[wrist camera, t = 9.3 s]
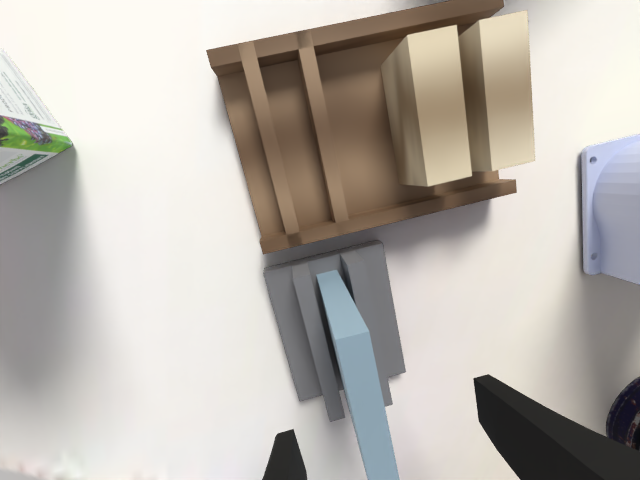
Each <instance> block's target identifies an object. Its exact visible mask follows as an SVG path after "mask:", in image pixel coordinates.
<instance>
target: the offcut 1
mask: <svg viewBox="0 0 640 480" xmlns="http://www.w3.org/2000/svg"><path fill="white" fill-rule="evenodd" d="M381 72H382V78H383V84H384V91H385V97H386V103H387V110H388V116H389V122H390V129H391V135H392V141H393V147H394V154H395V160H396V166H397V173H398V179H399V184H403V185H415V186H427V187H428V186H432V185H437V184H441V183H445V182H449V181H453V180H458V179H462V178H466V177H470V176H472V170H471V160H470V151H469V141H468V131H467V121H466V111H465V101H464V92H463V82H462V72H461V62H460V52H459V43H458V33H457V25H453V26H448V27H443V28H438V29H434V30H429V31H424V32H419V33H414V34H410V35H407V36H406V37H405V38H404V39H403V40H402V41H401V43H400V44H399V45H398V46H397V47H396V48H395V50H394V51H393V52H392V53H391V54H390V55H389V57H388V58H387V59H386V60H385V61H384V62H383V64H382V65H381Z"/></svg>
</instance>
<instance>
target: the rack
mask: <svg viewBox="0 0 640 480" xmlns="http://www.w3.org/2000/svg"><path fill="white" fill-rule="evenodd" d="M503 7H504V1H503V0H450V1H445V2H441V3H436V4H431V5H426V6H421V7H416V8H411V9H406V10H401V11H396V12H391V13H386V14H382V15H377V16H372V17H367V18H362V19H357V20H352V21H347V22H342V23H337V24H332V25H327V26H323V27H318V28H313V29H308V30H303V31H298V32H293V33H288V34H283V35H278V36H273V37H268V38H264V39H259V40H254V41H249V42H244V43H239V44H234V45H229V46H224V47H219V48H214V49H209V50H206V51H207V55H208V58H209V62H210V66H211V68H212V69H213V71H214V72H215V74H216V75H217V77H218V80H219V84H220V87H221V91H222V95H223V98H224V102H225V105H226V109H227V113H228V116H229V120H230V124H231V127H232V131H233V134H234V138H235V142H236V145H237V149H238V152H239V156H240V160H241V163H242V167H243V171H244V174H245V178H246V181H247V185H248V189H249V192H250V196H251V199H252V203H253V207H254V210H255V214H256V218H257V221H258V225H259V228H260V232H261V236H262V237H261V239H260V245H261V248H262V252H263V254H266V253H271V252H275V251H279V250H283V249H287V248H291V247H295V246H299V245H303V244H307V243H312V242H316V241H320V240H324V239H328V238H332V237H336V236H340V235H344V234H348V233H353V232H357V231H361V230H365V229H369V228H373V227H377V226H381V225H385V224H389V223H393V222H398V221H402V220H406V219H410V218H414V217H418V216H422V215H426V214H430V213H434V212H439V211H443V210H447V209H451V208H455V207H459V206H463V205H467V204H471V203H475V202H480V201H484V200H488V199H492V198H496V197H500V196H504V195H508V194H512V193H516V192H517V191H516V180H512V179H499V174H498V170H495V171H476V172H472V176H470V177H466V178H462V179H458V180H453V181H449V182H445V183H441V184H437V185H432V186H428V187H427V186H415V185H403V184H399V179H398V173H397V166H396V160H395V154H394V147H393V141H392V135H391V129H390V122H389V116H388V110H387V103H386V97H385V91H384V84H383V78H382V72H381V65H382V64H383V62H384V61H385V60H386V59H387V58H388V57H389V55H390V54H391V53H392V52H393V51H394V50H395V48H396V47H397V46H398V45H399V44H400V43H401V41H402V40H403V39H404V38H405V37H406V36H407V35H410V34H414V33H419V32H424V31H429V30H434V29H438V28H443V27H448V26H453V25H457V33H458V37H459V36H460V35H461V34H462V33H464V32H465V31H466V30H467V29H469V28H470V27H471V26H472V25H474V24H475V23H476V22H477V21H479V20H482V19H486V18H490V17H491V16H493V15H494V14H495V13H496V12H498V11H499V10H500V9H502V8H503Z"/></svg>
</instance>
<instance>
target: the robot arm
mask: <svg viewBox="0 0 640 480" xmlns="http://www.w3.org/2000/svg"><path fill="white" fill-rule="evenodd" d="M590 159H591V162H590ZM582 210H583V268H584V272H585V273H587V274H590V275H595V274H599V273H603V274H607V275H610V276H613V277H616V278H619V279H623V280H626V281H629V282H632V283H635V284H639V285H640V134H636V135H632V136H628V137H624V138H619V139H615V140H611V141H607V142H603V143H599V144H594V145H590V146H587V147H585V148H584V149H583V151H582ZM591 255H592V256H591ZM474 386H475V394H476V402H477V410H478V418H479V422H480V424H481V425H482V427H483V429H484V430H485V432H486V433H487V435H488V437H489V438H490V440H491V441H492V443H493V444H494V446H495V447H496V449H497V450H498V452H499V453H500V454H501V455H502V457H503V458H504V459H505V461H506V462H507V463H508V464H509V466H510V467H511V468H512V470H513V471H514V472H515V473H516V475H517V476H518V477H519V478H520V480H640V451H638V450H635V449H633V448H630V447H628V446H626V445H624V444H621V443H619V442H617V441H614V440H612V439H610V438H607V437H605V436H603V435H601V434H599V433H596V432H594V431H592V430H590V429H588V428H586V427H584V426H582V425H580V424H578V423H576V422H574V421H572V420H570V419H568V418H566V417H564V416H562V415H560V414H558V413H556V412H554V411H552V410H550V409H549V408H547V407H545V406H543V405H541V404H539V403H538V402H536V401H534V400H532V399H530V398H529V397H527V396H525V395H523V394H522V393H520V392H518V391H516V390H515V389H513V388H511V387H509V386H508V385H506V384H504V383H503V382H501V381H499V380H497V379H496V378H494V377H492V376H490V375H489V374H488V375H484V376H481V377H477V378H474ZM262 480H307V474H306V469H305V466H304V462H303V459H302V456H301V452H300V449H299V446H298V443H297V439H296V436H295V433H294V429H292V430H289V431H285V432H282V433H278V434H277V435H276V437H275V441H274V445H273V448H272V452H271V455H270V458H269V461H268V464H267V467H266V471H265V474H264V476H263V479H262Z"/></svg>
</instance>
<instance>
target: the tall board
mask: <svg viewBox="0 0 640 480" xmlns="http://www.w3.org/2000/svg"><path fill="white" fill-rule="evenodd" d="M316 276H317V280H318V285H319V289H320V293H321V297H322V301H323V306H324V310H325V314H326V318H327V322H328V326H329V331H330V335H331V339H332V343H333V347H334V352H335V356H336V360H337V364H338V368H339V372H340V377H341V380H342V384H343V388H344V392H345V396H346V399H347V403H348V407H349V411H350V414H351V418H352V422H353V426H354V429H355V433H356V437H357V441H358V444H359V448H360V452H361V456H362V459H363V463H364V467H365V471H366V475H367V478H368V480H400V479H399V475H398V470H397V465H396V460H395V455H394V450H393V445H392V440H391V435H390V431H389V426H388V421H387V416H386V411H385V406H384V401H383V396H382V391H381V387H380V382H379V377H378V372H377V367H376V362H375V357H374V352H373V348H372V343H371V338H370V333H369V330H368V328H367V326H366V324H365V322H364V320H363V318H362V317H361V315H360V313H359V311H358V309H357V307H356V305H355V303H354V301H353V299H352V298H351V296H350V294H349V292H348V290H347V288H346V286H345V284H344V282H343V280H342V279H341V277H340V275H339V273H338V271H337V270H333V271H329V272H325V273H321V274H317V275H316Z"/></svg>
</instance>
